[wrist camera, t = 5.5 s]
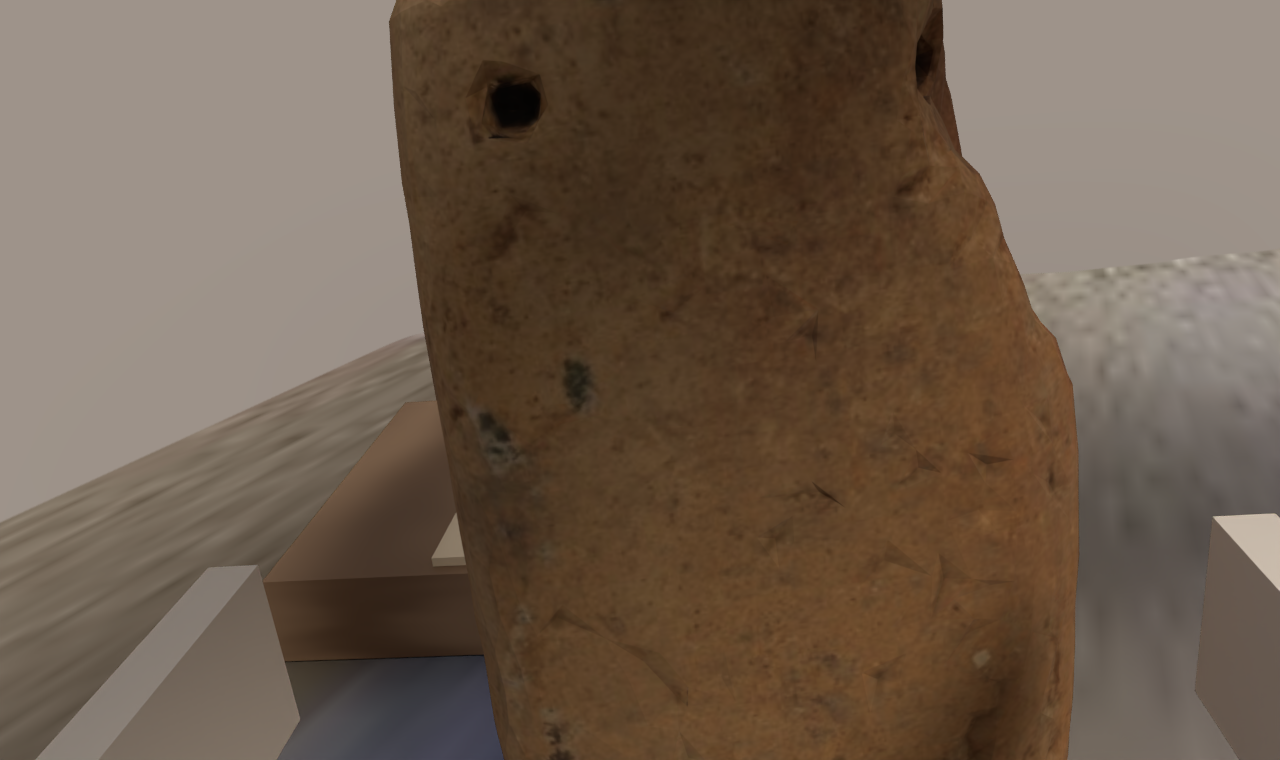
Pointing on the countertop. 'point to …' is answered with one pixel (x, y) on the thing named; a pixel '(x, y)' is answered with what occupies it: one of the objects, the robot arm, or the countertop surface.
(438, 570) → the plinth
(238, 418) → the countertop surface
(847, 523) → the catalogued terracotta fragment
